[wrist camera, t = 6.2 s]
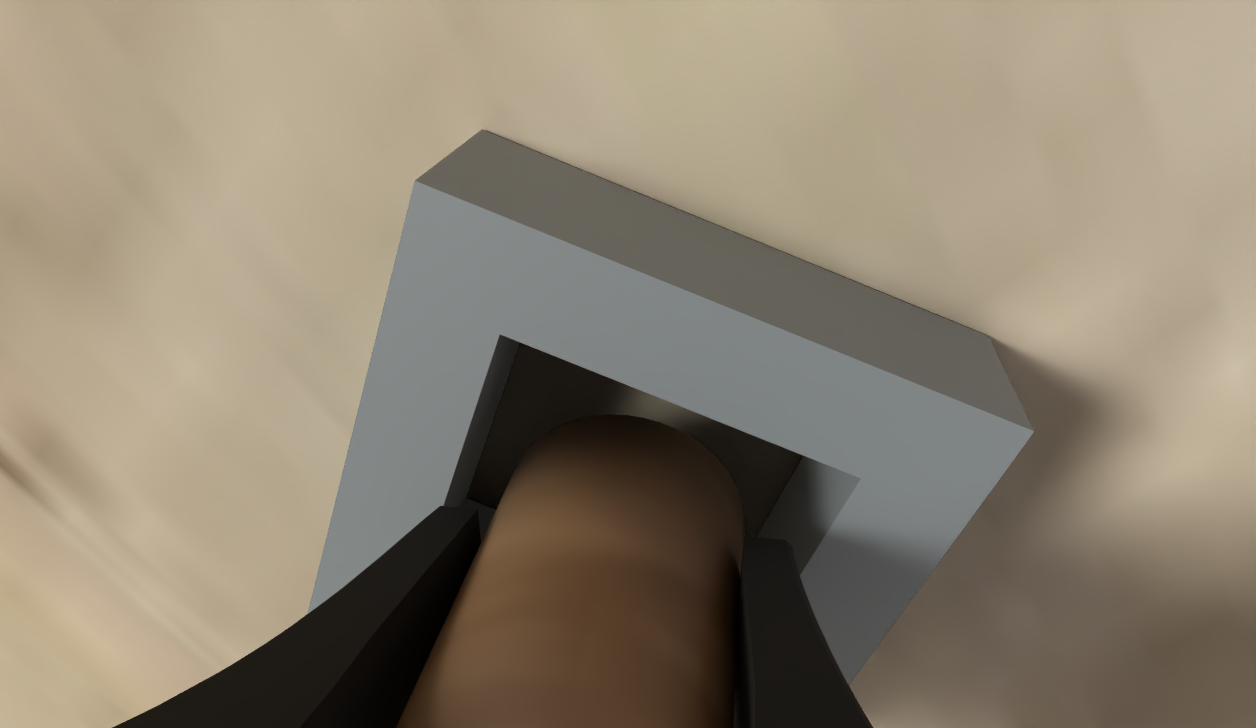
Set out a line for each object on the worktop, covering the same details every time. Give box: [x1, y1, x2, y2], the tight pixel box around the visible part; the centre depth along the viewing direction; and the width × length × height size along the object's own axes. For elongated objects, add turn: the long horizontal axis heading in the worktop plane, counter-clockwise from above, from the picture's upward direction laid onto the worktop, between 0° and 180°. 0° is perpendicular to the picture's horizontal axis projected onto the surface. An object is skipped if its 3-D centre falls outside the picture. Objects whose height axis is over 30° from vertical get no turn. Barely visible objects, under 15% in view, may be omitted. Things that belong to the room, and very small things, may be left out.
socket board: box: [308, 130, 1034, 685], centre depth 15 cm, size 9×9×3 cm
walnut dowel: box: [396, 415, 745, 728], centre depth 12 cm, size 4×4×6 cm
